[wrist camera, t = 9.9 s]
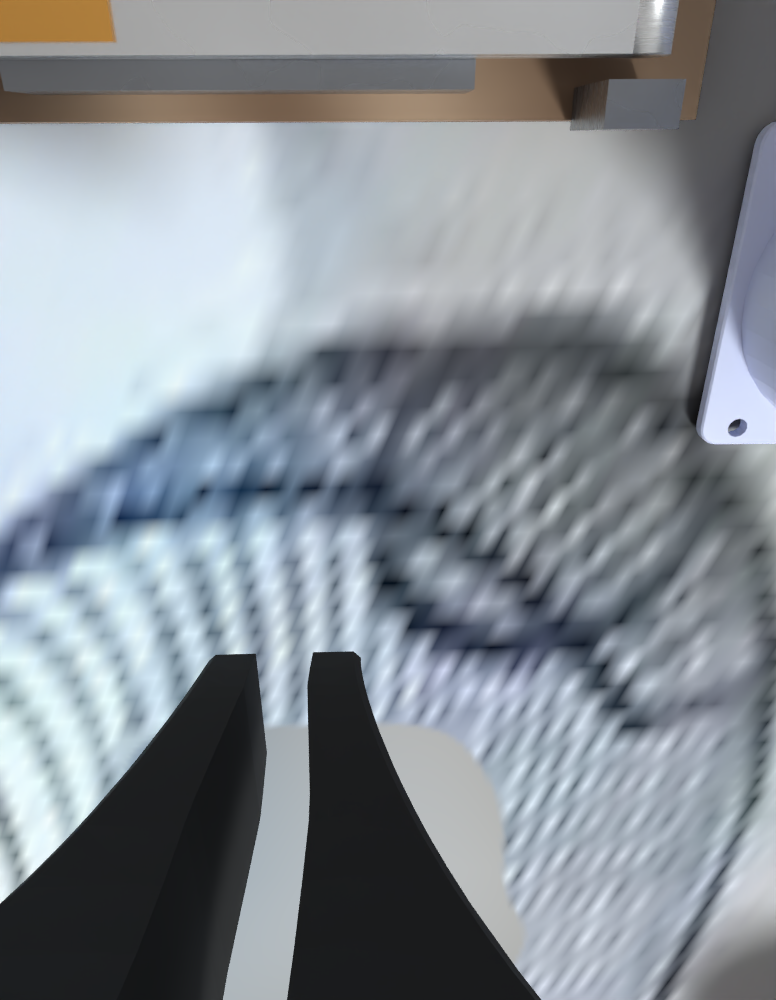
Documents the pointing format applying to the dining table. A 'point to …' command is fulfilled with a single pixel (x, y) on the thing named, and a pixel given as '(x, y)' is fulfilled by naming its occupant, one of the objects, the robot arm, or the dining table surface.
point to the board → (496, 98)
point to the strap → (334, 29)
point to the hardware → (335, 83)
